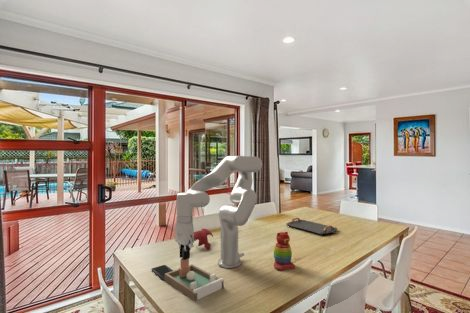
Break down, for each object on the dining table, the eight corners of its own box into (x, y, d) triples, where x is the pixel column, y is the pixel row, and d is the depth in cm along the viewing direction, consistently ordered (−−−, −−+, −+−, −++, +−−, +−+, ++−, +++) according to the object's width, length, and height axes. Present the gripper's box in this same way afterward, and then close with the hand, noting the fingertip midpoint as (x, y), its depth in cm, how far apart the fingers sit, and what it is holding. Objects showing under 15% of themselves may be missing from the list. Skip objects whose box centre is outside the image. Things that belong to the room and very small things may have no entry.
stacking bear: (277, 271, 131) (277, 236, 130) (269, 263, 140) (269, 230, 140) (297, 268, 134) (297, 234, 134) (287, 261, 143) (287, 229, 143)
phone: (163, 279, 120) (150, 268, 132) (163, 282, 120) (150, 270, 132) (178, 274, 125) (165, 264, 137) (178, 276, 125) (165, 266, 137)
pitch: (192, 270, 132) (192, 260, 132) (223, 287, 114) (223, 276, 114) (164, 280, 121) (164, 269, 121) (194, 301, 104) (194, 288, 104)
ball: (191, 277, 122) (191, 268, 122) (197, 280, 119) (197, 271, 119) (184, 280, 119) (184, 271, 119) (189, 283, 116) (189, 274, 116)
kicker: (187, 273, 125) (187, 246, 125) (190, 274, 124) (190, 247, 124) (178, 276, 122) (178, 248, 122) (181, 278, 120) (181, 250, 120)
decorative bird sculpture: (216, 248, 174) (204, 230, 180) (224, 241, 171) (212, 222, 176) (188, 263, 150) (175, 241, 155) (197, 255, 147) (183, 232, 152)
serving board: (282, 226, 215) (282, 219, 215) (300, 222, 229) (300, 215, 229) (324, 238, 185) (324, 229, 185) (341, 232, 199) (341, 224, 199)
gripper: (168, 217, 126) (168, 255, 126) (187, 223, 114) (187, 265, 114) (182, 214, 131) (182, 251, 131) (201, 220, 120) (201, 260, 120)
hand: (184, 257), depth 123 cm, fingers closed on kicker, 2 cm apart
